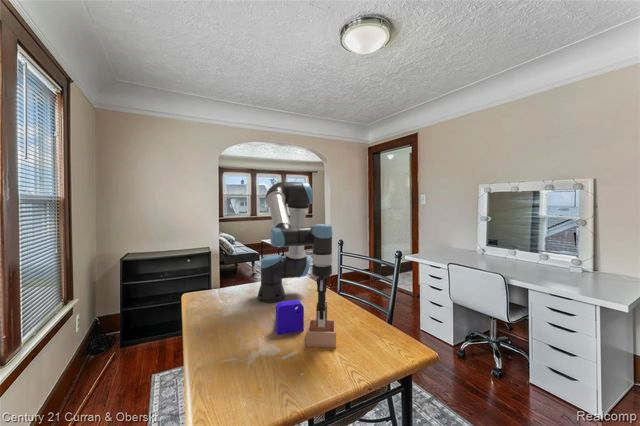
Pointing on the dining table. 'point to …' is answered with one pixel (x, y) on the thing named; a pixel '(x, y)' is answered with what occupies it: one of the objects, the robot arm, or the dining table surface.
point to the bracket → (289, 317)
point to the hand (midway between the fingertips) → (321, 323)
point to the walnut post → (325, 315)
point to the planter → (321, 334)
